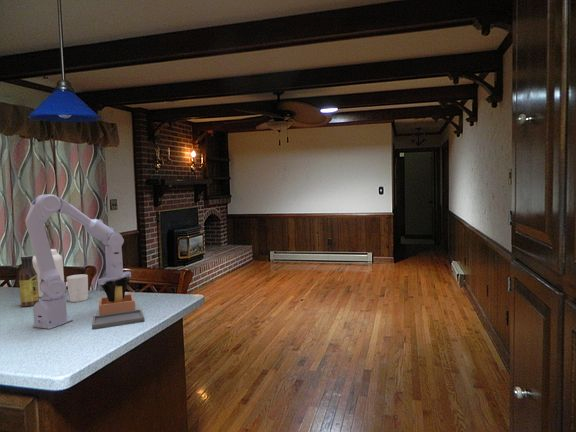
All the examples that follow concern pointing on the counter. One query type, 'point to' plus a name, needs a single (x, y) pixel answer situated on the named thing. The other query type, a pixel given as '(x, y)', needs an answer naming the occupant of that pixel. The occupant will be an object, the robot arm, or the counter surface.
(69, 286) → the white cup
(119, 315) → the tray
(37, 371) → the counter surface
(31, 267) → the sauce bottle
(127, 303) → the orange open box
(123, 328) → the counter surface
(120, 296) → the cylinder
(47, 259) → the robot arm
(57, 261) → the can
